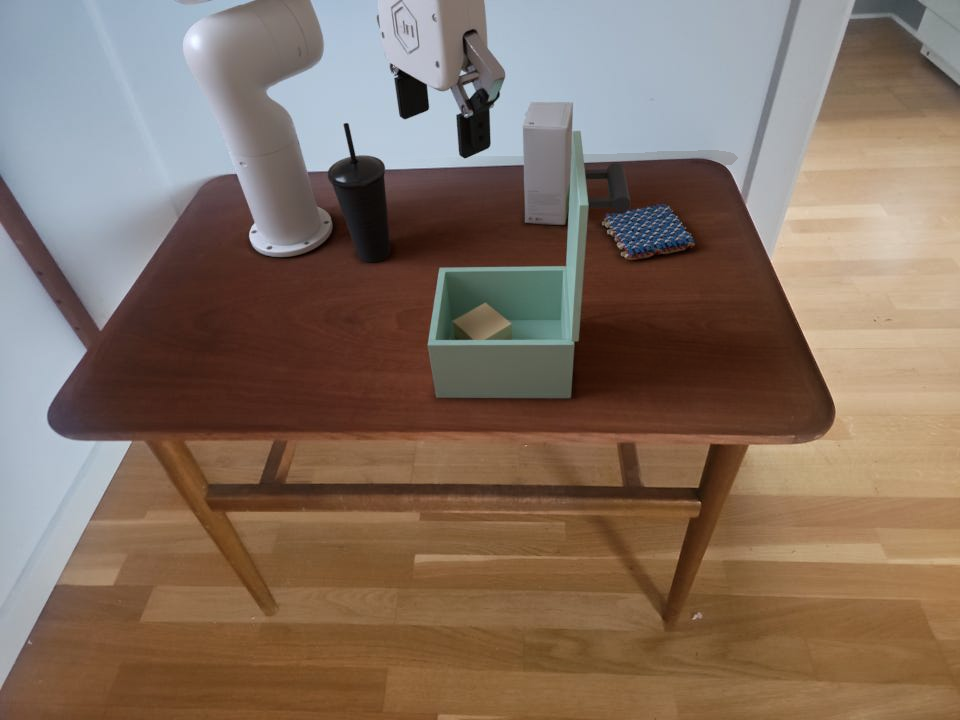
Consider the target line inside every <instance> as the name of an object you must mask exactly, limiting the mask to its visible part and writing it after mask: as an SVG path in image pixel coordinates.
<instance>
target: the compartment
mask: <svg viewBox="0 0 960 720" xmlns="http://www.w3.org/2000/svg"><path fill="white" fill-rule="evenodd" d="M438 268H439V269H438V275H437V282H436V289H435V295H434V301H433V307H432V314H431V321H430V327H429V334H428V341H427V350H428V354H429V355H428V356H429V362H430V368H431V373H432V379H433V386H434V392H435V397H436V399H572V391H573V389H572V387H573V373H574V361H575V360H574V357H575V341H571V333H570V316H569V300H568V283H567V267H566V265H558V266H557V265H551V266H549V265H547V266H546V265H542V266H541V265H540V266H539V265H538V266H466V267H465V266H464V267H463V266H461V267H438ZM484 303H487V304H488V305H489V306H491V307H492V308H493V309H494V310H496V311H497V312H498V313H499V314H501V315H502V316H503V317H504V318H506V319H507V320H508V321H509V322H511V323H512V340H455V337H454V329H453V321H454V320H455V319H457V318H459V317H461V316H462V315H464V314H466V313H468V312H469V311H471V310H473V309H475V308H477V307H478V306H480V305H482V304H484Z"/></svg>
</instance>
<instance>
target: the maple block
mask: <svg viewBox="0 0 960 720" xmlns="http://www.w3.org/2000/svg"><path fill="white" fill-rule="evenodd" d="M453 329H454V337H455V340H512V323H511V322H509V321H508V320H507V319H506V318H504V317H503V316H502V315H501V314H499V313H498V312H497V311H496V310H494V309H493V308H492V307H491V306H489V305H488V304H487V303H484V304H482V305H480V306H478V307H477V308H475V309H473V310H471V311H469V312H468V313H466V314H464V315H462V316H461V317H459V318H457V319H455V320H454V321H453Z"/></svg>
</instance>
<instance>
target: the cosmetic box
mask: <svg viewBox="0 0 960 720" xmlns="http://www.w3.org/2000/svg"><path fill="white" fill-rule="evenodd" d="M573 115H574V102H567V101H566V102H565V101H562V102H561V101H557V102H556V101H555V102H554V101H553V102H552V101H551V102H545V101H544V102H543V101H531V102H530V103H529V106H528V107H527V111H525V113H524V116H525V117H524V120H523V124H522V144H523V145H522V154H523V155H522V156H523V157H522V158H523V187H524V188H523V190H524V191H523V192H524V223H526V224H532V225H533V224H535V225H553V226H565V225H566V222H567V218H568V213H569V196H570V175H571V154H572V133H573V118H574V117H573Z"/></svg>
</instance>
